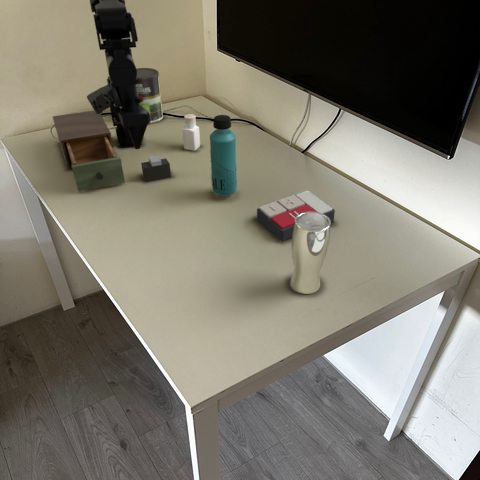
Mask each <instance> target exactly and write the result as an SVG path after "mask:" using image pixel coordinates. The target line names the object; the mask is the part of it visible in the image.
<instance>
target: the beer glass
mask: <svg viewBox="0 0 480 480" xmlns="http://www.w3.org/2000/svg"><path fill="white" fill-rule="evenodd" d="M331 225H332V224H331V221H330V219H329V218H328V217H327V216H326V215H324V214H322V213H319V212H304V213H301V214H299V215H297V216H296V218H295V222H294V227H293V233H292V238H291V255H292V264H293V265H292V266H293V269H292V270H293V271H292V274H291V278H290V282H289V285H290V288H291V289H292V290H293V291H295V292H297V293H299V294H302V295H309V294H314V293H317V291H319V289H320V287H321V270H322V266H323V264H324V262H325V259H326V256H327V253H328V249H329V245H330V238H331Z"/></svg>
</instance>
